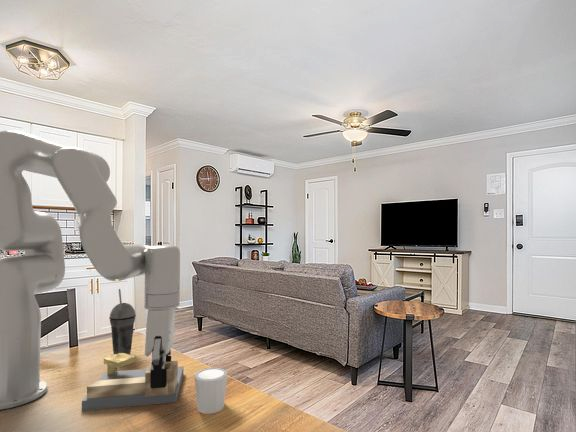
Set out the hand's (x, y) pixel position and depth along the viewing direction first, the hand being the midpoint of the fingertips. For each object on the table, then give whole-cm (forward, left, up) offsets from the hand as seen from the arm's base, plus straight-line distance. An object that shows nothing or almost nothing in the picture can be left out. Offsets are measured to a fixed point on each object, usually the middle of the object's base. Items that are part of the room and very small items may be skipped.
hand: (161, 379), depth 78 cm
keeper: (-11, +9, -4) cm, 15 cm away
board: (-6, +5, -4) cm, 9 cm away
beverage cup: (-16, +30, -4) cm, 34 cm away
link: (-6, 0, -2) cm, 6 cm away
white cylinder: (+11, -6, -4) cm, 13 cm away
